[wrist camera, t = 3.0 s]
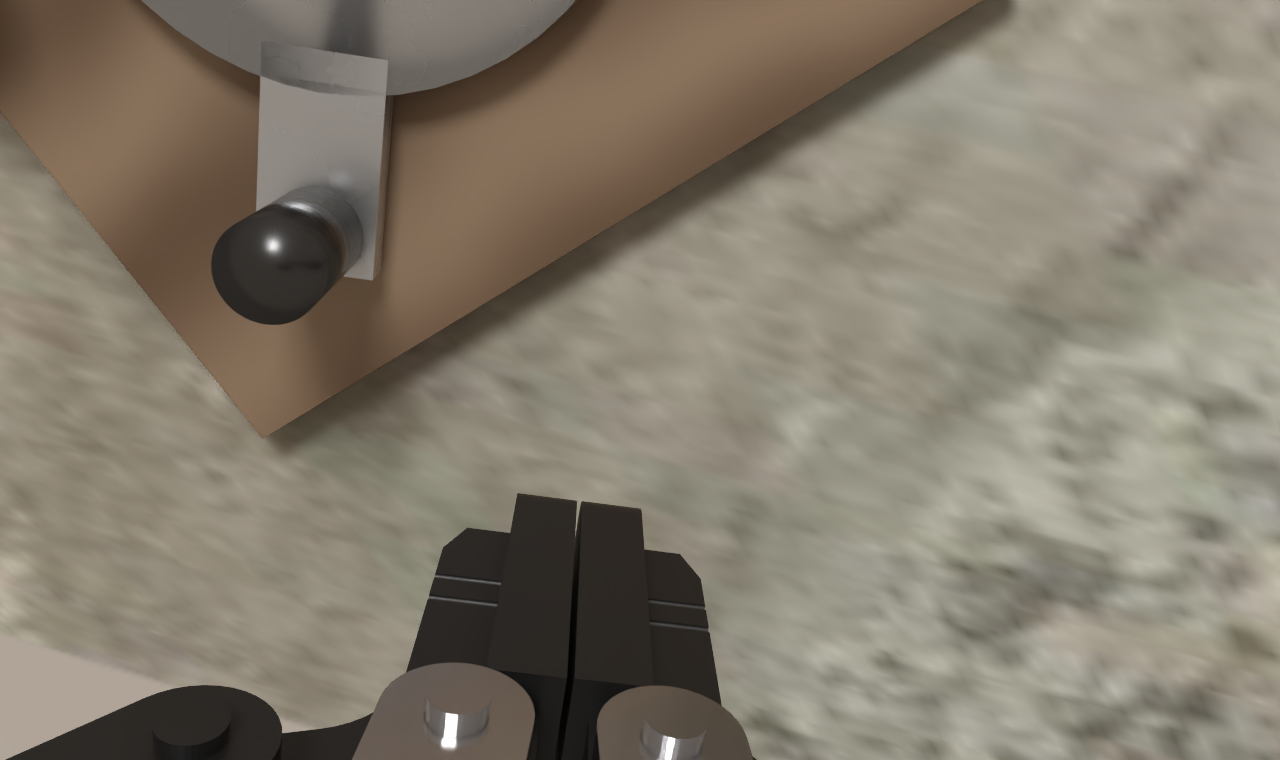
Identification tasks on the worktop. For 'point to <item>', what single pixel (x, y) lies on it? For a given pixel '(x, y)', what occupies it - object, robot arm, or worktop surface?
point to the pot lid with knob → (334, 124)
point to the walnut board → (415, 157)
